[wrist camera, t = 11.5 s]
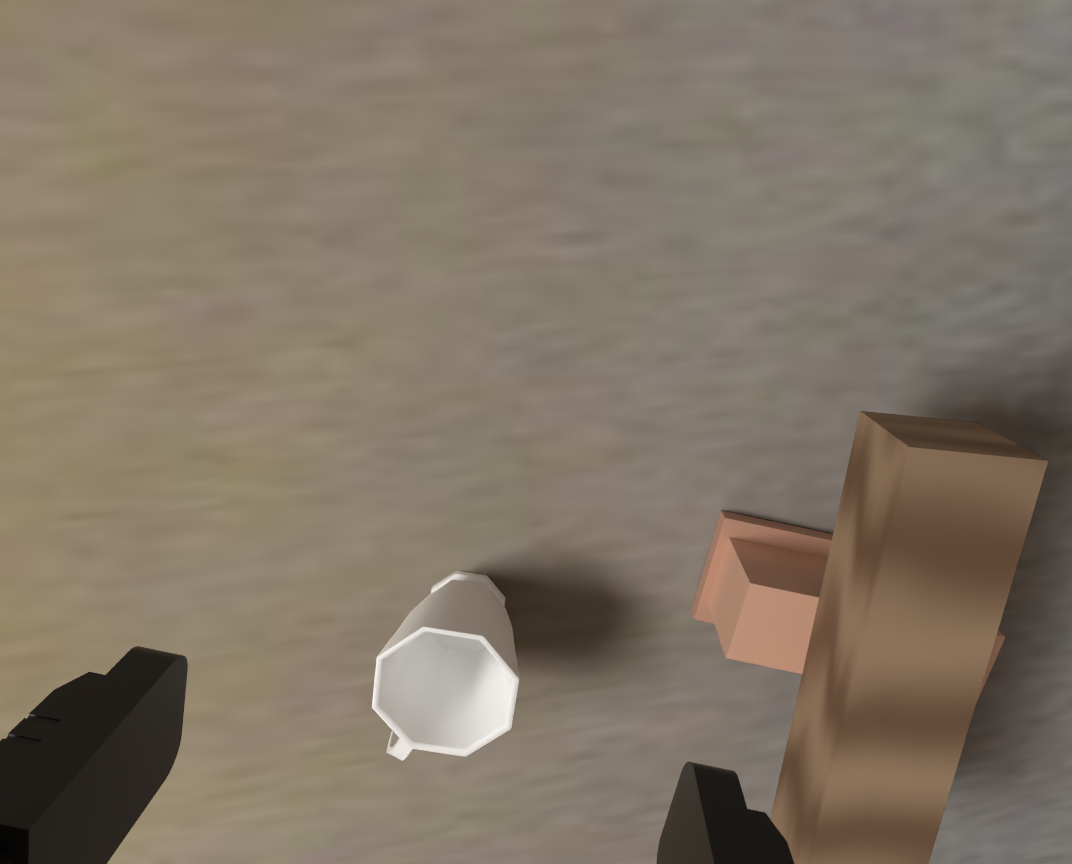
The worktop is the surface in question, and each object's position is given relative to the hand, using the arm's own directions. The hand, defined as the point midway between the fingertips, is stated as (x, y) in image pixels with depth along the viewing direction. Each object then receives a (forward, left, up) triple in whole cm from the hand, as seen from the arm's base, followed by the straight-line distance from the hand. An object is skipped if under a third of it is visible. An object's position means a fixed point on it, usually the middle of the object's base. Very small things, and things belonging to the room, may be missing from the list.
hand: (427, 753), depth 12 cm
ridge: (+8, +18, -28) cm, 34 cm away
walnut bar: (+8, +18, -22) cm, 30 cm away
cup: (+15, -1, -28) cm, 32 cm away
